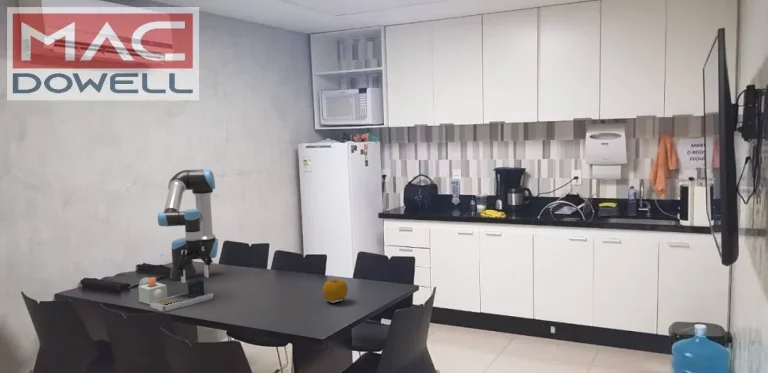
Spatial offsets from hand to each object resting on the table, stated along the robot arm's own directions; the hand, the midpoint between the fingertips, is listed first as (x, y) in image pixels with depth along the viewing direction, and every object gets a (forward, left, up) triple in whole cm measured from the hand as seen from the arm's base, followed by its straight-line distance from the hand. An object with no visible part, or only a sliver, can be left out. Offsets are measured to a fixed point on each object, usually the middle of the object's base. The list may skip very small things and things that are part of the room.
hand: (195, 279), depth 301 cm
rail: (+8, 0, -11) cm, 13 cm away
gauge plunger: (+15, -16, -6) cm, 23 cm away
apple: (-40, +62, -11) cm, 74 cm away
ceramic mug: (+7, -33, -11) cm, 36 cm away
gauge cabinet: (+15, -16, -11) cm, 24 cm away
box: (0, 0, -11) cm, 11 cm away
